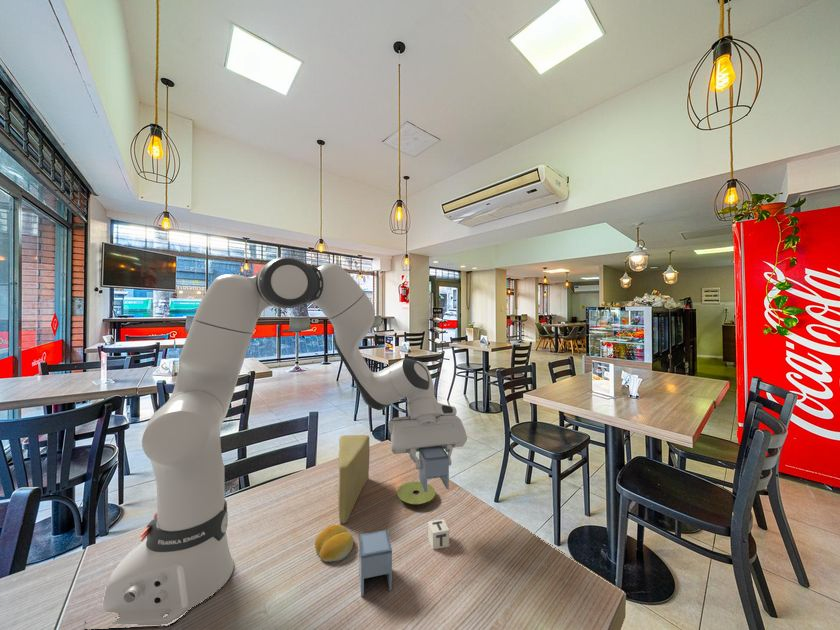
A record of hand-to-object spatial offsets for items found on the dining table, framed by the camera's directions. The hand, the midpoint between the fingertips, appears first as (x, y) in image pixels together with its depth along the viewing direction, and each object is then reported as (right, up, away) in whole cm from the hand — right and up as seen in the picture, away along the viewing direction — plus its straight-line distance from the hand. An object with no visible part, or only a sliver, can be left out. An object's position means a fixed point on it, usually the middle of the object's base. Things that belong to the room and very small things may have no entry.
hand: (434, 467), depth 77 cm
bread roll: (-24, -17, -5) cm, 30 cm away
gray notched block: (-13, -17, -14) cm, 25 cm away
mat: (-5, -16, +14) cm, 22 cm away
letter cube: (+1, -17, -3) cm, 17 cm away
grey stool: (0, -5, +1) cm, 5 cm away
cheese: (-24, -16, +14) cm, 32 cm away
